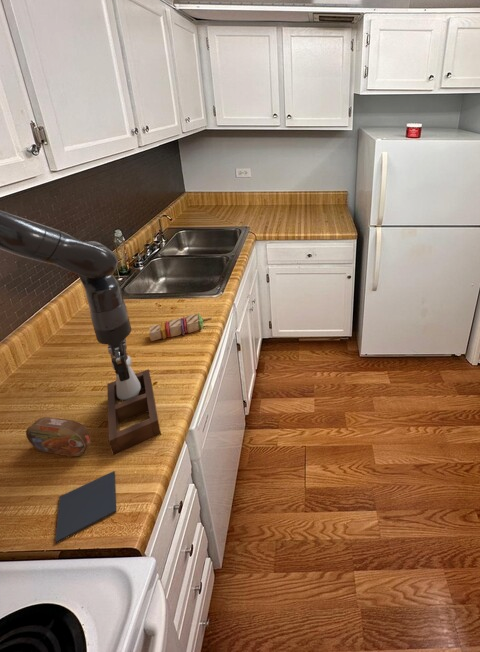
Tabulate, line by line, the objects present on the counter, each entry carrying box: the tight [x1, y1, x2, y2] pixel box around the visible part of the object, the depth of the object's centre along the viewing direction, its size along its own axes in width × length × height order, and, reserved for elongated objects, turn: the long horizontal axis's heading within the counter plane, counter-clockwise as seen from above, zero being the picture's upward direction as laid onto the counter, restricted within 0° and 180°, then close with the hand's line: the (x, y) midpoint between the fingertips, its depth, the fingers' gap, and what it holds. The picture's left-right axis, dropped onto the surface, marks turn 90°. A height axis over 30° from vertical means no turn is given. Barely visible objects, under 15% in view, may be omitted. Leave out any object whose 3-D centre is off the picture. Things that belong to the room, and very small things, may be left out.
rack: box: [106, 369, 162, 456], centre depth 87 cm, size 10×19×5 cm, turn 31°
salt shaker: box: [111, 355, 141, 402], centre depth 88 cm, size 6×6×13 cm
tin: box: [25, 416, 92, 457], centre depth 78 cm, size 15×3×8 cm, turn 82°
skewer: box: [148, 313, 212, 342], centre depth 119 cm, size 21×6×5 cm, turn 115°
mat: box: [54, 470, 117, 544], centre depth 68 cm, size 10×9×1 cm
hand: (124, 372), depth 88 cm, fingers closed on salt shaker, 4 cm apart
